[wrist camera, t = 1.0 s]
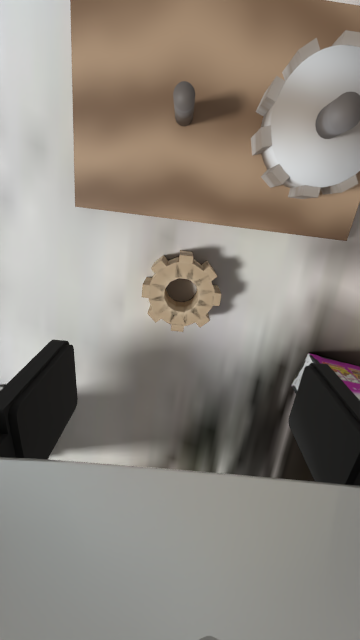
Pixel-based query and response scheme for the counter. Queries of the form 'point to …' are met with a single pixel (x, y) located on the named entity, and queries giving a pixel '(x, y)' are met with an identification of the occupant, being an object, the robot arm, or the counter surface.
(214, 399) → the counter surface
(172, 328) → the wooden gear
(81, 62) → the gear board
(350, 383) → the candy bar box
